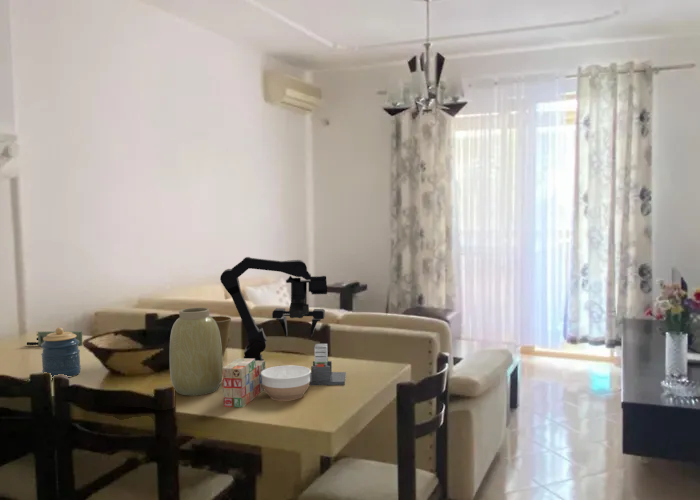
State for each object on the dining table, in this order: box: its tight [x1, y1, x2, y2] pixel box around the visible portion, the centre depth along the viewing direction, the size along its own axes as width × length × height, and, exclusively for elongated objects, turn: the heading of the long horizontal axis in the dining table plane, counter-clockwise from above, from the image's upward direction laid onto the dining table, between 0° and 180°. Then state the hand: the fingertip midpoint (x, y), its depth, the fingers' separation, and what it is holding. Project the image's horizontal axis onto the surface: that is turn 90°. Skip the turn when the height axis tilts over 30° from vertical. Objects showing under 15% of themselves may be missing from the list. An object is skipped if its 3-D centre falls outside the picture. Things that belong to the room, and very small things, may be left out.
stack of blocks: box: [222, 357, 266, 408], centre depth 207 cm, size 21×6×12 cm, turn 168°
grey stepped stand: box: [309, 360, 347, 386], centre depth 224 cm, size 16×12×7 cm
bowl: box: [261, 364, 311, 402], centre depth 208 cm, size 16×16×8 cm
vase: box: [168, 307, 224, 396], centre depth 215 cm, size 17×17×27 cm
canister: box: [40, 327, 82, 377], centre depth 239 cm, size 13×13×18 cm
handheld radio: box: [26, 330, 83, 347], centre depth 289 cm, size 7×3×25 cm
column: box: [314, 343, 329, 366], centre depth 222 cm, size 4×5×8 cm
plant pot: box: [210, 315, 232, 357], centre depth 259 cm, size 15×15×16 cm
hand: (298, 336), depth 238 cm, fingers open, 9 cm apart
